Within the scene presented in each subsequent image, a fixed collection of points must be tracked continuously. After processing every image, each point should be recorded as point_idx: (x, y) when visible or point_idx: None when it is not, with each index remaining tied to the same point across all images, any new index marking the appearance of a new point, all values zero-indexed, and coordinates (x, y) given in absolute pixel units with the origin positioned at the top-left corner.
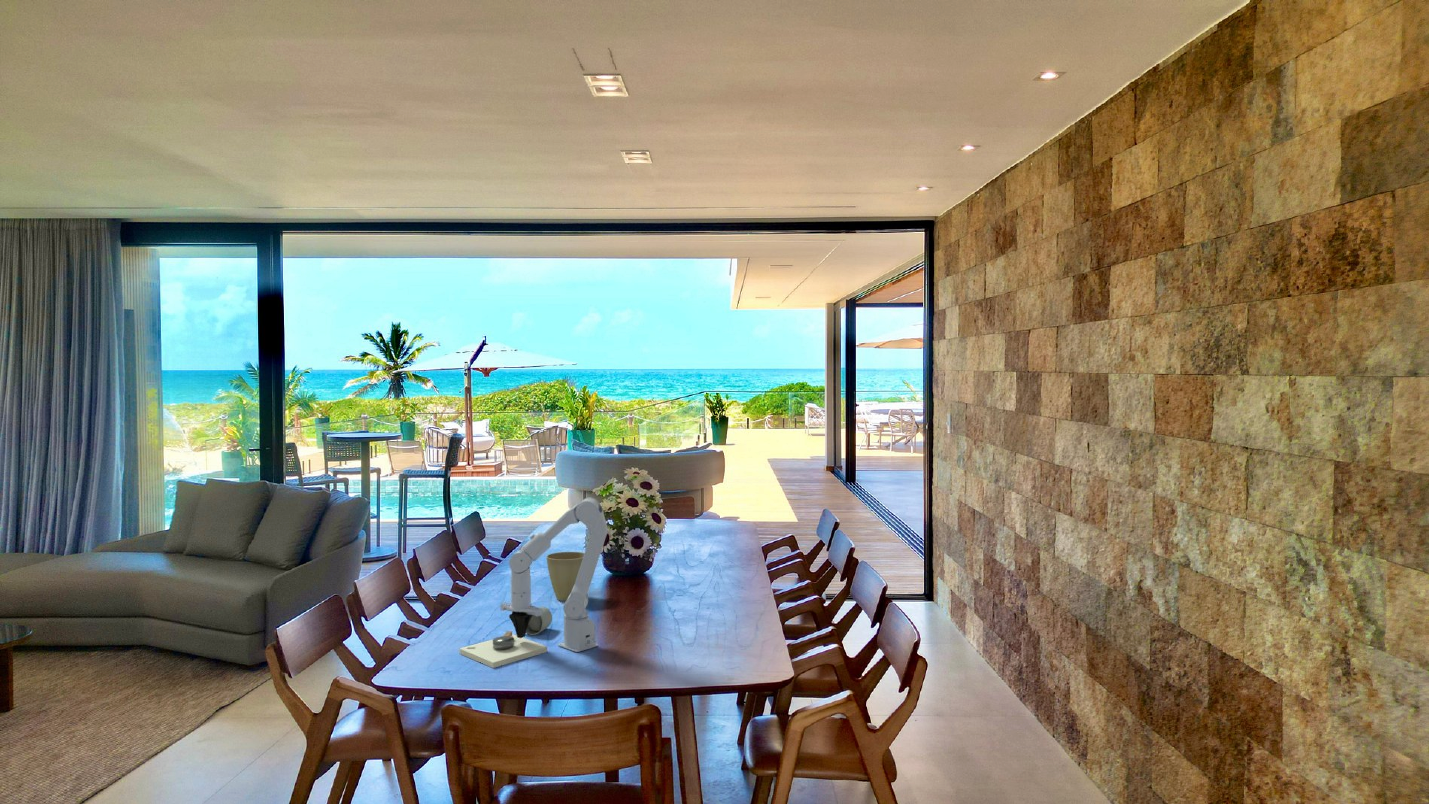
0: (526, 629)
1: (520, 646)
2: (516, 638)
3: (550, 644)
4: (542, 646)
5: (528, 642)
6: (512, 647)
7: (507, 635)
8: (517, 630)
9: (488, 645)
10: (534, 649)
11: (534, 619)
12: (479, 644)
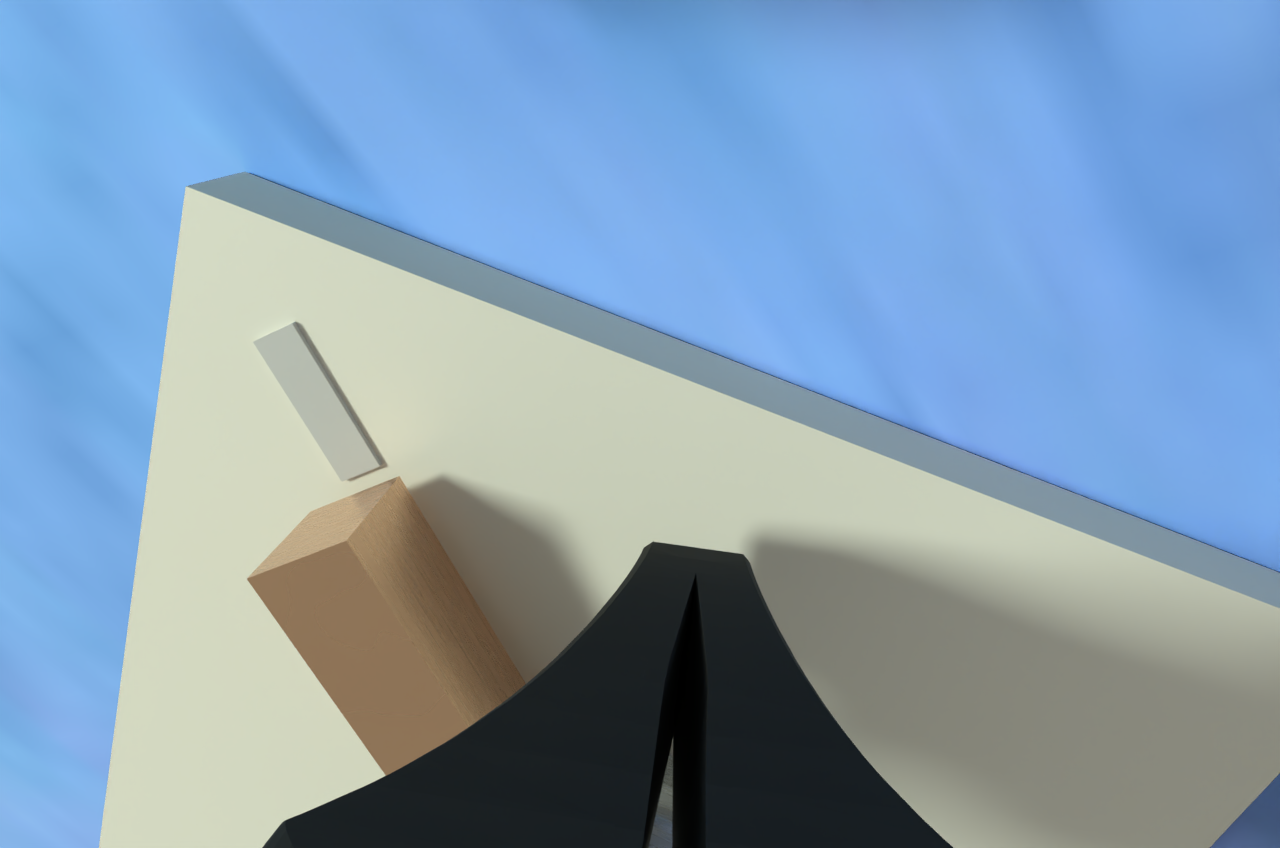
0: (778, 636)
1: None
2: (473, 417)
3: (1223, 202)
4: (1275, 666)
5: (863, 552)
6: None
7: None
8: (651, 825)
9: None
10: (1182, 823)
11: None
12: (165, 814)
